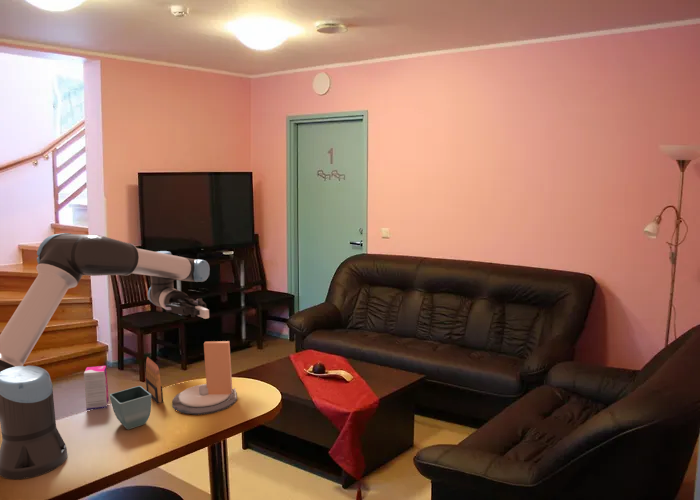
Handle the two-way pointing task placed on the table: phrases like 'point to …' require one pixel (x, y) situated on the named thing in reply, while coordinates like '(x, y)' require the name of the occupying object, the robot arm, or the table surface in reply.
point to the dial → (212, 377)
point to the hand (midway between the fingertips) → (206, 314)
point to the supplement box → (96, 387)
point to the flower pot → (132, 406)
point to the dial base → (204, 410)
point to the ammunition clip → (153, 381)
